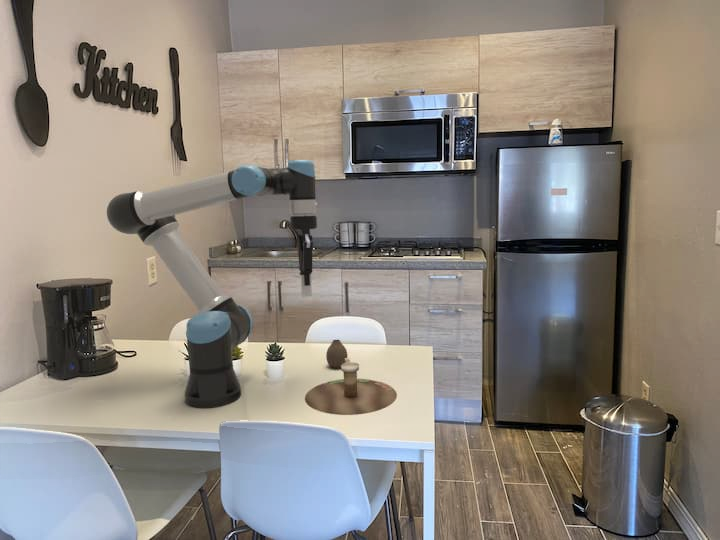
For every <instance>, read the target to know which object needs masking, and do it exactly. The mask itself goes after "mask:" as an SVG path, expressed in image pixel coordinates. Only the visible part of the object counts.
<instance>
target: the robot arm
mask: <svg viewBox="0 0 720 540" xmlns="http://www.w3.org/2000/svg"><path fill="white" fill-rule="evenodd" d="M315 171H316V170H315V163H314V162H313V161H312V160H310V159H294V160H292V159H291V160H288V162H287V167H283V168H279V167H278V168H266V167H262V166H261V167H260V166H256V165H252V164H246V165H240V166H239V167H237V168H236V169H234V170H231V171H226V172H222V173H221V172H220V173H218V174H213V175H209V176H207V177H202V178H199V179H195V180H192V181H191V180H190V181H187V182H183V183H179V184H175V185H171V186H168V187H164V188H159V189H155V190H152V191H148V192H147V191H144V190H141V189H140V190H137V191H136V190H135V191H133V192H125V193H120V194H117V195H115V197H113V198H112V199H111V200H110V201H109V203H108V205H107V207H106V218H107V221H108V223H109V224H110V225H111V227H112V228H113V229H115V230H116V231H118V232H119V233H122V234H125V235H137V236H138V238H139V239H140V240H141V242H142V243H143V244H144V245H145V246H151V247H152V248H153V249H154V251H155V252H156V253H157V255H158V256H159V257H160V259H161V260H162V262H163V263H164V264H165V265H166V267H167V268H168V270H169V271H170V273H171V274H172V275H173V277H174V278H175V280H176V281H177V282H178V284H179V285H180V287H181V288H182V289H183V291H184V292H185V293H186V295H187V297H188V298H189V300H191V302H192V303H193V304H194V306H195V307H196V309H197V310H198V313H197V314H195V315H193V316H191V317H190V318H189V319H188V320H187V322H186V331H185V337H186V342H187V345H186V346H187V352H188V353H187V354H188V356H187V357H188V365H189V367H188V368H189V375H188V380H187V382H186V383H187V384H186V388H185V391H184V401H185V403H186V405H187V406H190V407H194V408H202V409H203V408H215V407H221V406H224V405H228V404H230V403H233V402H235V401H236V400H238V399H239V398H240V397H241V396H242V389H241V387H242V386H241V384H240V381H239V379H238V377H237V374H236V372H235V370H234V362H233V360H234V359H233V350H234V349H235V348H237V347H238V346H239V345H241V344H242V343H244V342H245V341H246V340H247V339H248V338H249V336H250V335H251V334H252V331H253V326H254V321H253V318H252V314H251V313H250V311H249V310H248V309H247V308H246V307H244V306H242V305H239V304H237V303H236V301H235V300H234V299H233V297H232V296H230V295H226V294H224V293H223V292H222V291H221V290H220V288H219V287H218V285H217V284H216V283H215V281H214V280H213V278H212V276H211V275H210V274H209V273H208V271H207V270H206V268H205V267H204V265H203V264H202V262H200V260H199V259H198V257H197V256H196V255H195V253H194V252H193V250H192V249H191V248H190V246H189V245H188V243H187V242H186V241H185V239H184V237H183V236H182V234H181V233H180V232H179V226H180V223H179V222H178V220H177V219H176V215H180V214H181V215H182V214H185V213H188V212H191V211H197V210H199V209H203V208H207V207H212V206H216V205H219V204H223V203H228V202H232V201H235V200H240V199H244V198H248V197H251V196H252V197H253V196H256V197H264V196H284V195H285V196H287V195H288V196H289V197H288V198H289V202H288V203H289V214H290V215H291V217H290V220H289V221H290V229H291V230H293V231H294V230H298V233H297V235H296V243H297V255H298V256H297V257H298V266H299V268H298V270H299V271H300V272H299V276H300V286H301V297H302V298H304V297H305V298H306V297H307V298H308V297H312V295H313V293H312V273H313V245H314V241H313V235H311V230H315V229H317V228H318V224H317V223H318V220H317V218H318V217H317V216H316V215H315V214H317V207H318V206H319V204H318V203H317V200H316V199H317V198H316V197H317V195H316V174H315V173H316V172H315Z"/></svg>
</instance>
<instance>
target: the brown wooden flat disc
mask: <svg viewBox="0 0 720 540" xmlns="http://www.w3.org/2000/svg"><path fill="white" fill-rule="evenodd" d="M397 394H398V393H397V391H396V390H395V388H394V387H392V386H391V385H389V384H388V383H385V382H383V381H378V380H372V379H370V378H369V379H368V378H357V395H356V396H353V397H347V396H345V395H344V378H343V379H342V378H341V379H335V380H330V381H327V382H324V383H321V384H318V385H316V386H314V387H313V388H312V387H311V389H310V390H308V391H307V392H306V394H305V396H304V401H305V403H306V405H308V407H310V408H311V409H313V410H316V411H317V412H320V413H325V414H329V415H339V416H354V415H357V416H358V415H364V414H370V413H374V412H379V411H381V410H383V409H386V408H387V407H389V406H392V404H393V403H394V402H395V401H396V399H397V397H398V395H397Z"/></svg>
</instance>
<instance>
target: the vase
mask: <svg viewBox="0 0 720 540" xmlns="http://www.w3.org/2000/svg"><path fill="white" fill-rule="evenodd" d="M345 358H348V351H347V348H346V347H345V346H344V345H343V343H342V341H341V339H332V342H331V344H330V345H329V347H328V348H327V351H326V362H327V364H328V366H329V367H331V368H333V369H341V365H342V364H343V363H345Z"/></svg>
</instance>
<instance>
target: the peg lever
mask: <svg viewBox="0 0 720 540" xmlns="http://www.w3.org/2000/svg"><path fill="white" fill-rule="evenodd" d="M340 369H341V372H343V379H344V395H345V396H347V397H353V396H356V395H357V379H358V371H359V370H360V365H359V363H357V362H353V361H351V360H350V357H347V358H345V363H343V364H342V365H341V368H340Z"/></svg>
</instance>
